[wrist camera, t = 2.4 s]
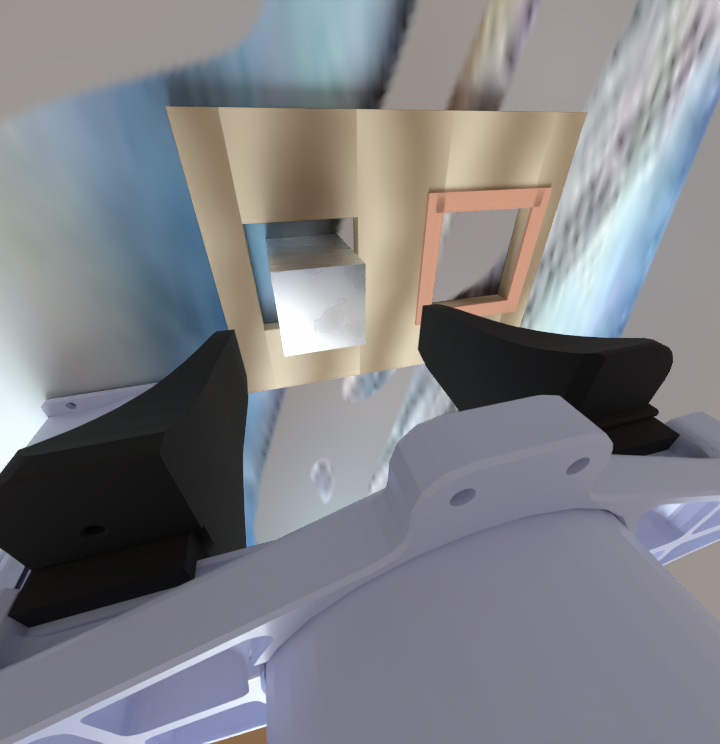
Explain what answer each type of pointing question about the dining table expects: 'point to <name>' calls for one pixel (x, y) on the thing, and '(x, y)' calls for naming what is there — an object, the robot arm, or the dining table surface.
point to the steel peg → (318, 293)
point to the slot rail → (369, 211)
